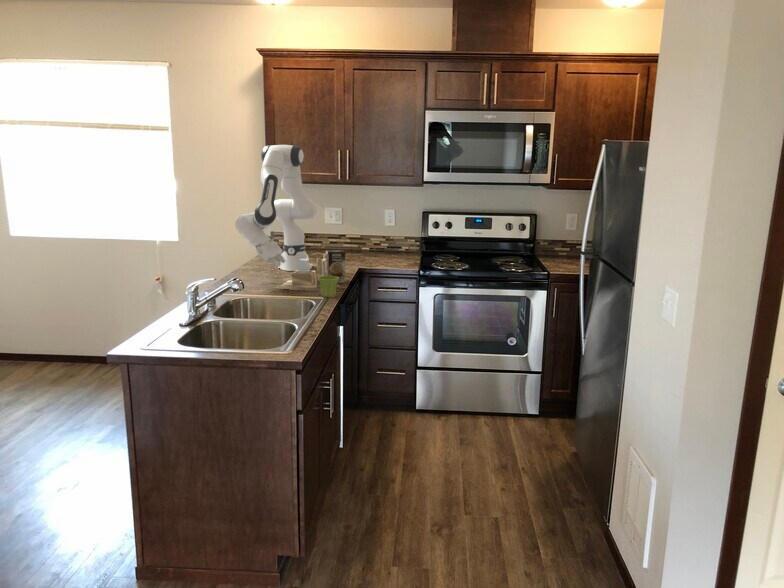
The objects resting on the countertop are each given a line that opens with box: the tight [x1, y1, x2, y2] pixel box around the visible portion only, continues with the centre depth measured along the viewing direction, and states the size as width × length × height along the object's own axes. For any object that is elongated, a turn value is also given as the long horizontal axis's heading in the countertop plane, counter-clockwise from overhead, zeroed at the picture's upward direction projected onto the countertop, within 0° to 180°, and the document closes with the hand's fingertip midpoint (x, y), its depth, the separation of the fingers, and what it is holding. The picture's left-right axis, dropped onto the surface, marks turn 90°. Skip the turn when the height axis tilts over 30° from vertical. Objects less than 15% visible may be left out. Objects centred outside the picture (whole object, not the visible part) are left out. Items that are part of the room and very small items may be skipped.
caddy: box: [279, 253, 328, 292], centre depth 299 cm, size 16×20×16 cm
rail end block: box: [299, 258, 310, 273], centre depth 299 cm, size 4×4×12 cm
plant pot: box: [318, 276, 339, 298], centre depth 281 cm, size 9×9×9 cm
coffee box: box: [325, 249, 346, 284], centre depth 312 cm, size 9×6×16 cm
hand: (281, 263), depth 300 cm, fingers open, 8 cm apart
